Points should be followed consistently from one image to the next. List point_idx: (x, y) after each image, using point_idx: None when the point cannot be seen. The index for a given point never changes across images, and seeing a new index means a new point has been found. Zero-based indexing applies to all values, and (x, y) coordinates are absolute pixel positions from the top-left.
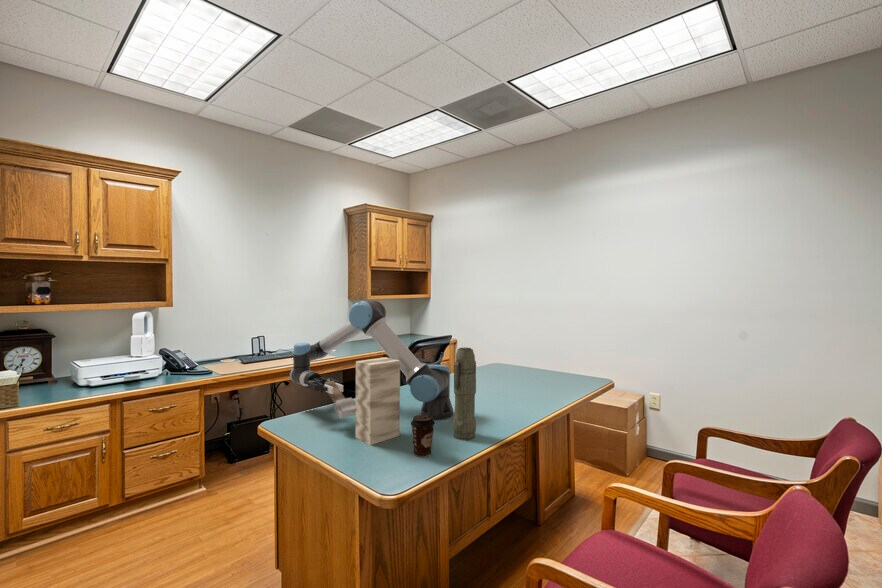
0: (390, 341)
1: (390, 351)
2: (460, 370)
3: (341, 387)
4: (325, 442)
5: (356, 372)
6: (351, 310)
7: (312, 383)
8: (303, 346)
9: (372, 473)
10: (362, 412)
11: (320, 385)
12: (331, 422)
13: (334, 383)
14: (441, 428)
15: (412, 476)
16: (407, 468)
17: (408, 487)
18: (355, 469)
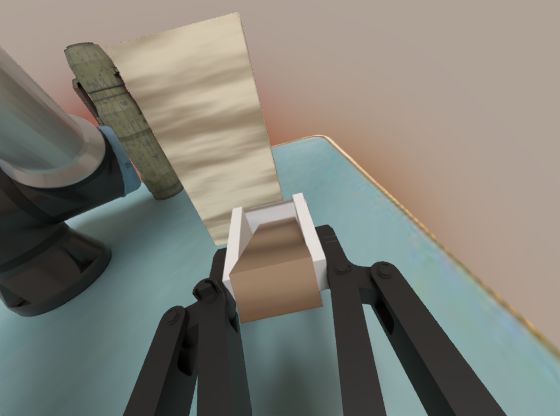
0: None
1: None
2: (124, 86)
3: (245, 215)
4: (355, 230)
5: (249, 62)
6: None
7: (460, 392)
8: None
9: (316, 154)
10: (274, 164)
11: (354, 271)
12: (298, 390)
13: (243, 259)
14: (155, 217)
15: (286, 148)
16: (281, 156)
17: (299, 140)
18: (330, 160)
